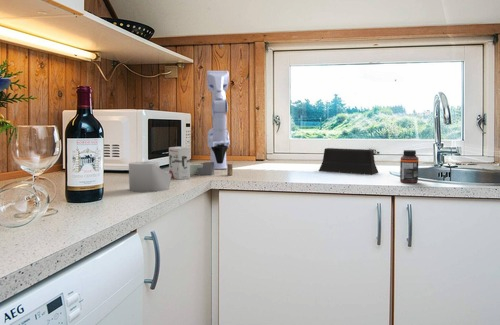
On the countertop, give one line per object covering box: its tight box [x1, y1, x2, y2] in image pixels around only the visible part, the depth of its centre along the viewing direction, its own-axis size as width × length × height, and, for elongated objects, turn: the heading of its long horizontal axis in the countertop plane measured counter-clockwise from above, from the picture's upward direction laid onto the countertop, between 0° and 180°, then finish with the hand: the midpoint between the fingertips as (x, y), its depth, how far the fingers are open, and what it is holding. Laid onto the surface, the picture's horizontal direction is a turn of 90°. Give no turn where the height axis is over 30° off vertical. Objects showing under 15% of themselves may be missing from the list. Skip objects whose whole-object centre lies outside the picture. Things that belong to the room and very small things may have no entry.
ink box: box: [168, 146, 191, 180], centre depth 163 cm, size 9×5×12 cm, turn 37°
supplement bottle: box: [399, 149, 419, 184], centre depth 150 cm, size 6×6×11 cm
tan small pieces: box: [200, 162, 233, 177], centre depth 176 cm, size 18×1×4 cm, turn 46°
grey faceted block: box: [196, 161, 215, 176], centre depth 174 cm, size 4×6×5 cm, turn 79°
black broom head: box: [318, 147, 379, 176], centre depth 181 cm, size 24×9×10 cm, turn 56°
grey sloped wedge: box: [128, 161, 172, 193], centre depth 136 cm, size 9×13×9 cm
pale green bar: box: [190, 163, 203, 175], centre depth 175 cm, size 10×2×4 cm, turn 127°
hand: (219, 163), depth 174 cm, fingers closed
